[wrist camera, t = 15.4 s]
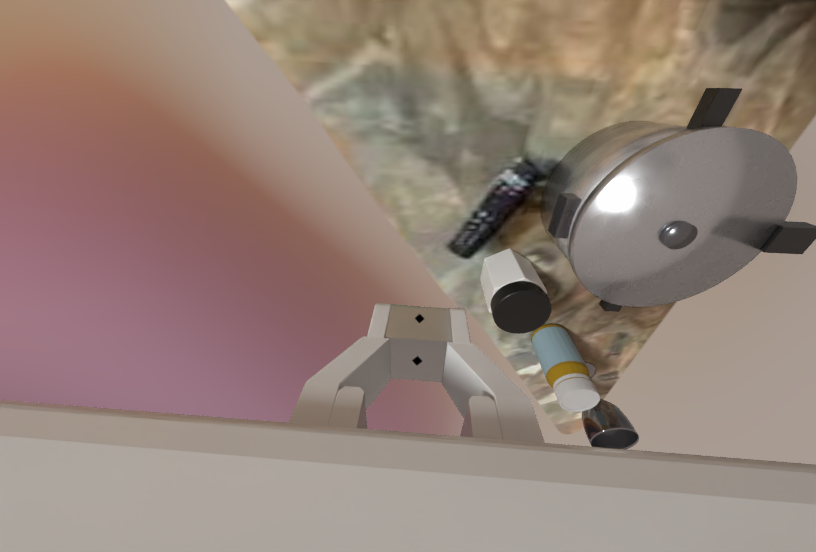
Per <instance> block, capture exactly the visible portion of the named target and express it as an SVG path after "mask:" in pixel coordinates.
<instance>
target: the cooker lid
mask: <svg viewBox="0 0 816 552" xmlns="http://www.w3.org/2000/svg"><path fill="white" fill-rule="evenodd" d="M796 190H797V172H796V167H795V163H794V161H793V158H792V156H791V154H790V153H789V152H788V150H787V149H786V147H785V146H784V145H782V144H781V143H780V142H779V141H778V140H777V139H775V138H773V137H771V136H769V135H767V134H765V133H762V132H759V131H755V130H752V129H745V128H736V127H727V126H710V127H702V128H696V129H690V130H687V131H683V132H680V133H676V134H673V135H671V136H668V137H666V138H663V139H661V140H658V141H656V142H654V143H652V144H650V145H648V146H646V147H644V148H643V149H641V150H639V151H638V152H636V153H635V154H633V155H631V156H630V157H628V158H627V159H626V160H624V161H623V162H622V163H621V164H619V165H618V166H617V167H615V168H614V169H613V170H612V171H611V172H610V173H609V174H608V175H607V176H606V177H604V178H603V179H602V181H601V182H600V183H599V184H598V185H597V186H596V187H595V188H594V189H593V191H592V192H591V193H590V195H589V196H588V198H587V199H586V200H585V202H584V203H583V205H582V207H581V209H580V210H579V212H578V214H577V216H576V219H575V221H574V223H573V226H572V230H571V233H570V238H569V259H570V264H571V266H572V269H573V271H574V273H575V275H576V276H577V278H578V279H579V281H580V282H581V283H582V284H583V285H584V287H585V288H586V289H587V290H588V291H589V292H591V293H592V294H593V295H595V296H596V297H598V298H600V299H602V300H604V301H606V302H609V303H612V304H616V305H621V306H629V307H647V306H657V305H663V304H668V303H672V302H676V301H679V300H682V299H685V298H688V297H691V296H694V295H696V294H699V293H701V292H703V291H705V290H707V289H709V288H711V287H713V286H715V285H717V284H719V283H721V282H722V281H724V280H725V279H727V278H729V277H730V276H732V275H733V274H734V273H736V272H737V271H739V270H740V269H742V268H743V267H744V266H745V265H747V264H748V263H749V262H750V261H752V260H753V259H754V258H755V257H756V256H757V255H758V254H759V253H760V252H761V251H763V252H768V253H789V254H803V253H804V251H805V250H806V249H807V248H808V247H809V246H810V245H811V244H812V242H813V241H814V240H815V239H816V226H814V225H811V224H809V223H806V222H787V221H785V219H786V217H787V216H788V214H789V212H790V209H791V207H792V204H793V201H794V198H795V194H796Z"/></svg>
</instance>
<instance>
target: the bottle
mask: <svg viewBox="0 0 816 552" xmlns="http://www.w3.org/2000/svg"><path fill="white" fill-rule="evenodd" d="M531 341H532V344H533V347H534V349H535V352H536V354H537V357H538V359H539V362H540V364H541V367H542V369H543V372H544V374H545V377H546V379H547V381H548V383H549V385H550V386H551V387H552V388H553V390H554V392H555V395H556V397H557V400H558V402H559V404H560V406H561V407H562V408H563V409H565V410H567V411H571V412H581V411H586V410H589V409H591V408H593V407H594V406H596V405H597V404H598V403H599V401H600V396H599V393H598V391H597V389H596V388H595V386H594V384H593V383H592V381H591V379H590V373H589V370H588V368H587V366H586V364H585V363H584V361H583V359H582V357H581V355H580V354H579V352H578V350H577V348H576V347H575V345H574V343H573V341H572V340H571V338H570V336H569V334H568V333H567V331H566V330H565V328H563V327H562V326H560V325H555V324H547V325H543V326H541V327H539V328H537V329H536V330H535V331H534V333H533V334H532V336H531Z"/></svg>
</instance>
